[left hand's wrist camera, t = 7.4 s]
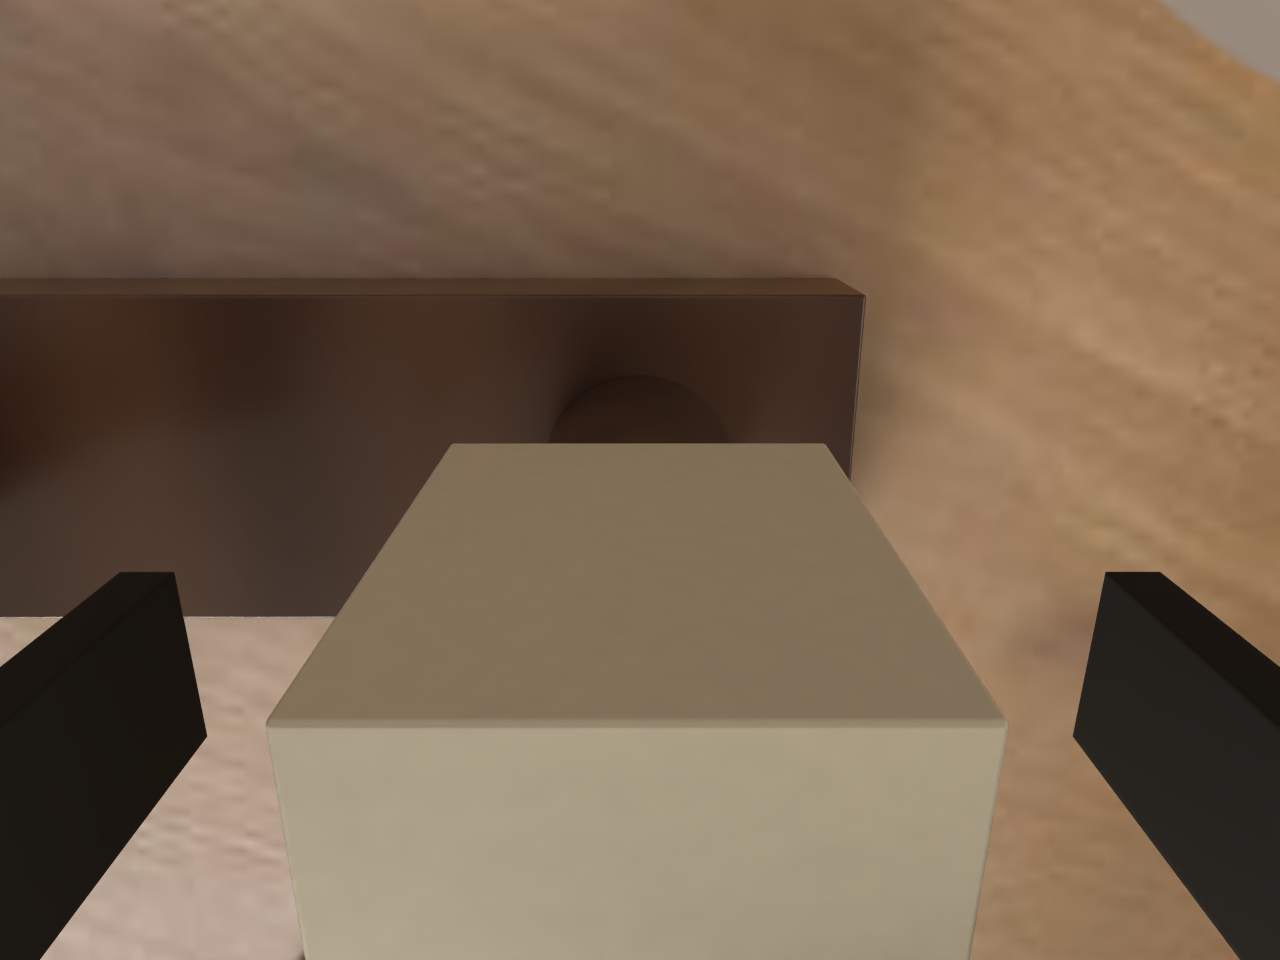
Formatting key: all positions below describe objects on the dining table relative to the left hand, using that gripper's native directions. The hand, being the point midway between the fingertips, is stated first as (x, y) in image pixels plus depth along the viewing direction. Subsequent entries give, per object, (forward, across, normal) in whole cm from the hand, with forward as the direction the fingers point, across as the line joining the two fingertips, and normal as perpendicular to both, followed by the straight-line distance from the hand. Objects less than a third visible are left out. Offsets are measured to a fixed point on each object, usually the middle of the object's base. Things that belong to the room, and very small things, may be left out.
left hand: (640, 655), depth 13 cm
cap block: (+2, 0, 0) cm, 2 cm away
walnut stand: (+12, +8, 0) cm, 14 cm away
